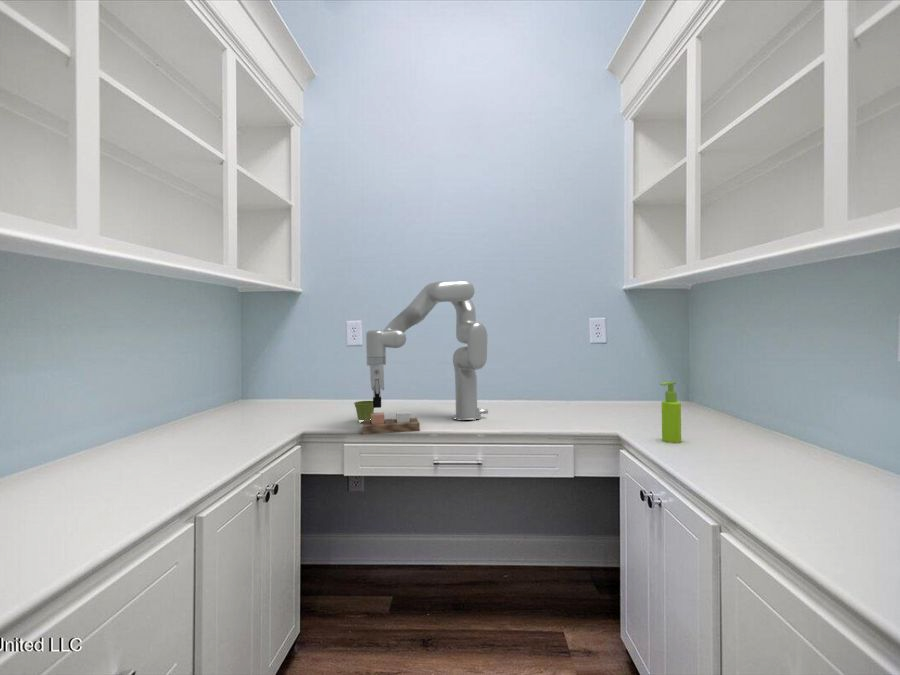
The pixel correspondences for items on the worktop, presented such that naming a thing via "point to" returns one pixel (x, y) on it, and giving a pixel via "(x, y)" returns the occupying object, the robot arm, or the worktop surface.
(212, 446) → the worktop surface
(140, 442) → the worktop surface
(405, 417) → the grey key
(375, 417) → the terracotta key
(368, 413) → the plant pot
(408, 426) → the brown rectangular frame
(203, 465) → the worktop surface
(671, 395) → the soap dispenser
